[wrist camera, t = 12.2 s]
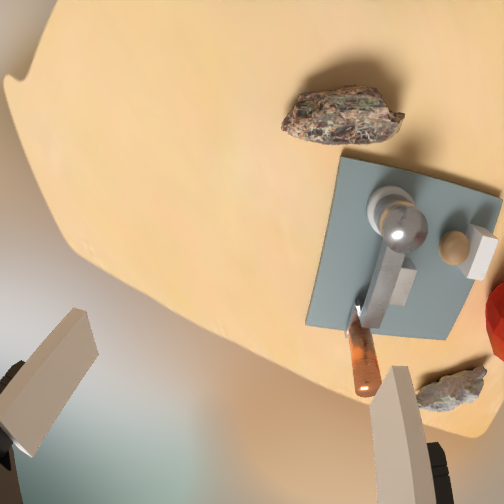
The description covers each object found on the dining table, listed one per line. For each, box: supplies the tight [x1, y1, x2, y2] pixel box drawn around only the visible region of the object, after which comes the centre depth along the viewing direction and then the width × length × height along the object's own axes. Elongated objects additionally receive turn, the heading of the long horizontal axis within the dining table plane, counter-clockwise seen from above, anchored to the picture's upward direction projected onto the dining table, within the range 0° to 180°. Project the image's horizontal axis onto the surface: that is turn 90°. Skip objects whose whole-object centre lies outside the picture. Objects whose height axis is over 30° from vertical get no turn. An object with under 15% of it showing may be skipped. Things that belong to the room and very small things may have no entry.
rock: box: [281, 85, 405, 145], centre depth 30 cm, size 7×11×10 cm
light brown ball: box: [438, 230, 470, 265], centre depth 34 cm, size 4×4×4 cm
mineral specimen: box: [416, 366, 487, 412], centre depth 45 cm, size 16×7×7 cm, turn 107°
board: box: [306, 156, 503, 340], centre depth 37 cm, size 24×24×5 cm
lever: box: [345, 194, 428, 397], centre depth 33 cm, size 21×6×12 cm, turn 175°
